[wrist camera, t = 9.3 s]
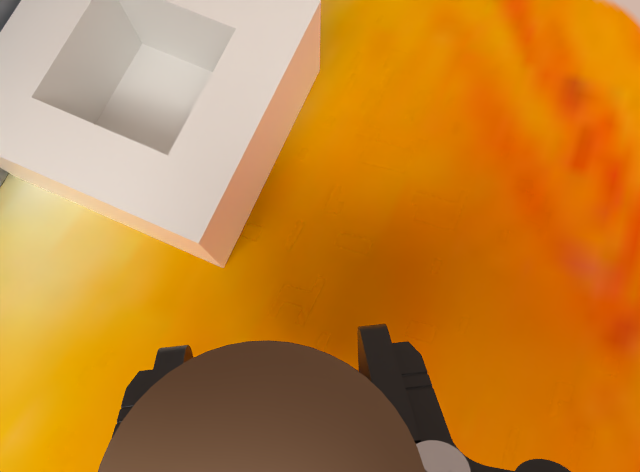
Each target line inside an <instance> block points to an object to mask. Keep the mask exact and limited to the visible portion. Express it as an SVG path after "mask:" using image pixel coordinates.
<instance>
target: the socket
mask: <svg viewBox="0 0 640 472" xmlns="http://www.w3.org/2000/svg"><path fill="white" fill-rule="evenodd" d="M320 23H321V0H21V1H20V3H19V5H18V6H17V8H16V9H15V11H14V12H13V14H12V15H11V17H10V18H9V20H8V21H7V23H6V24H5V26H4V27H3V29H2V30H1V32H0V168H2V169H3V170H5V171H7V172H8V173H10V174H12V175H13V176H15V177H17V178H19V179H22V180H24V181H26V182H28V183H31V184H33V185H35V186H37V187H40V188H42V189H44V190H47V191H49V192H51V193H53V194H56V195H58V196H60V197H62V198H65V199H67V200H69V201H72V202H74V203H76V204H78V205H81V206H83V207H85V208H87V209H90V210H92V211H94V212H97V213H99V214H101V215H103V216H106V217H108V218H110V219H113V220H115V221H117V222H119V223H122V224H124V225H126V226H128V227H131V228H133V229H135V230H138V231H140V232H142V233H144V234H147V235H149V236H151V237H153V238H156V239H158V240H160V241H163V242H165V243H167V244H169V245H172V246H174V247H176V248H178V249H181V250H183V251H185V252H188V253H190V254H192V255H194V256H197V257H199V258H201V259H204V260H206V261H208V262H210V263H213V264H215V265H217V266H219V267H222V268H224V267H225V264H226V262H227V260H228V258H229V256H230V254H231V252H232V250H233V248H234V246H235V244H236V242H237V240H238V238H239V236H240V234H241V232H242V229H243V227H244V225H245V223H246V221H247V219H248V217H249V215H250V213H251V211H252V209H253V207H254V205H255V203H256V201H257V199H258V197H259V194H260V192H261V190H262V188H263V186H264V184H265V182H266V180H267V178H268V176H269V174H270V172H271V170H272V168H273V166H274V164H275V161H276V159H277V157H278V155H279V153H280V151H281V149H282V147H283V145H284V143H285V141H286V139H287V137H288V135H289V133H290V131H291V129H292V126H293V124H294V122H295V120H296V118H297V116H298V114H299V112H300V110H301V108H302V106H303V104H304V102H305V100H306V98H307V96H308V94H309V91H310V89H311V87H312V85H313V83H314V81H315V79H316V77H317V75H318V73H319V71H320Z"/></svg>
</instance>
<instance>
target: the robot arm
mask: <svg viewBox="0 0 640 472" xmlns="http://www.w3.org/2000/svg"><path fill="white" fill-rule="evenodd" d="M192 358H193V354H192V351H191V348H190V346H189V345H184V346H175V347H166V348H160V349H159V350H158V352H157V356H156V360H155V364H154V368H153V370H145V371H139V372H138V373H137V375H136V376H135V377H134V379H133V380H132V381H131V383H130V384H129V385H128V386H127V388H126V391H125V394H124V398H123V401H122V405H121V410H120V412H119V415H118V419H117V424H116V426H115V429H114V432H113V436H114V434H115V432H116V431H117V429H118V427H119V425H120V424H121V422H122V421H123V419H124V418H125V417H126V415H127V414H128V413H129V411H130V410H131V409H132V407H133V406H134V405H135V403H136V402H137V401H138V400H139V399H140V398H141V397H142V396H143V395H144V394H145V393H146V392H147V391H148V390H149V389H150V388H151V387H152V386H153V385H154V384H155V383H156V382H158V381H159V380H160V379H161V378H163V377H164V376H165V375H166V374H167V373H169V372H170V371H172V370H173V369H175V368H177V367H178V366H180V365H181V364H183V363H185V362H186V361H188V360H190V359H192ZM358 363H359V372H360V373H361V374H363V375H364V376H365V377H367V378H368V379H369V380H370V381H371V382H372V383H373V384H374V385H375V386H376V387H377V388H378V389H379V390H380V391H382V393H383V394H384V395H385V396H386V397H387V399H388V400H389V401H390V402H391V404H392V405H393V406H394V407H395V408H396V410H397V411H398V413H399V415H400V416H401V418H402V419H403V421H404V422H405V424H406V425H407V427H408V429H409V431H410V433H411V435H412V437H413V440H414V442H415V444H416V446H417V448H418V451H419V454H420V457H421V460H422V463H423V466H424V469H425V472H571V471H569V470H568V469H567V468H565V467H563V466H562V465H560V464H558V463H555V462H553V461H549V460H544V459H533V460H528V461H526V462H524V463H522V464H520V465H519V466H518V467H517V469H516V470H515V471H510V470H505V469H499V468H494V467H489V466H485V465H481V464H479V463H476V462H474V461H472V460H471V459H469V458H468V457H466V456H465V455H464V454H463V453H461V452H460V451H459V449H458V448H457V447H456V446H455V444H454V443H453V441H452V439H451V436H450V434H449V431H448V428H447V425H446V423H445V420H444V417H443V414H442V411H441V409H440V406H439V403H438V400H437V398H436V395H435V392H434V389H433V388H432V384H431V381H430V378H429V375H428V374H427V370H426V367H425V364H424V361H423V359H422V356H421V354H420V353H419V352H418V351H417V350H416V349H415V348H414V347H413V346H412V345H411V344H410V343H409V342H399V343H392V342H391V339H390V335H389V332H388V329H387V326H386V324H379V325H370V326H361V327H358ZM113 436H112V438H113Z"/></svg>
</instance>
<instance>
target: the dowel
mask: <svg viewBox="0 0 640 472" xmlns="http://www.w3.org/2000/svg"><path fill="white" fill-rule="evenodd" d="M98 472H425V469H424V466H423V463H422V460H421V457H420V454H419V451H418V448H417V446H416V444H415V442H414V440H413V437H412V435H411V433H410V431H409V429H408V427H407V425H406V424H405V422H404V421H403V419H402V418H401V416H400V415H399V413H398V411H397V410H396V408H395V407H394V406H393V405H392V404H391V402H390V401H389V400H388V399H387V397H386V396H385V395H384V394H383V393H382V391H380V390H379V389H378V388H377V387H376V386H375V385H374V384H373V383H372V382H371V381H370V380H369V379H368V378H367V377H365V376H364V375H363V374H361V373H360V372H358V371H357V370H356V369H354V368H353V367H351V366H350V365H349V364H347V363H345V362H343V361H341V360H339V359H337V358H336V357H334V356H332V355H330V354H327V353H325V352H322V351H319V350H317V349H314V348H311V347H308V346H303V345H299V344H294V343H290V342H279V341H248V342H242V343H237V344H231V345H226V346H223V347H220V348H217V349H214V350H211V351H207V352H205V353H203V354H201V355H199V356H197V357H194V358H192V359H190V360H188V361H186V362H185V363H183V364H181V365H180V366H178V367H177V368H175V369H173V370H172V371H170V372H169V373H167V374H166V375H165V376H164V377H163V378H161V379H160V380H159V381H158V382H156V383H155V384H154V385H153V386H152V387H151V388H150V389H149V390H148V391H147V392H146V393H145V394H144V395H143V396H142V397H141V398H140V399H139V400H138V401H137V402H136V403H135V405H134V406H133V407H132V409H131V410H130V411H129V413H128V414H127V415H126V417H125V418H124V419H123V421H122V422H121V424H120V425H119V427H118V429H117V431H116V432H115V434H114V436H113V438H112V439H111V441H110V443H109V445H108V448H107V450H106V452H105V454H104V457H103V459H102V461H101V464H100V467H99V470H98Z"/></svg>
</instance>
